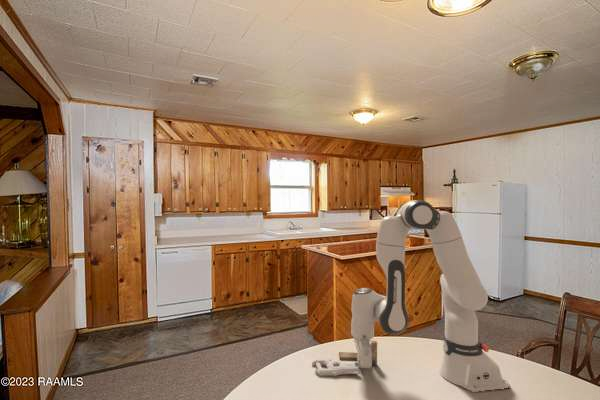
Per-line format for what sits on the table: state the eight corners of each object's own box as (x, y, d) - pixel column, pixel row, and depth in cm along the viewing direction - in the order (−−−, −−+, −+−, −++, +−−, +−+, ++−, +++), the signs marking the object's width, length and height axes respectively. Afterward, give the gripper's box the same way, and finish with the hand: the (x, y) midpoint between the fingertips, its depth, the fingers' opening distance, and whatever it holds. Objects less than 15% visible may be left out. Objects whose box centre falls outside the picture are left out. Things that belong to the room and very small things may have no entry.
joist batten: (371, 355, 124) (371, 353, 124) (373, 360, 120) (373, 358, 120) (338, 354, 125) (338, 352, 125) (339, 359, 121) (339, 357, 121)
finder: (369, 362, 119) (369, 354, 119) (370, 369, 114) (370, 360, 114) (357, 361, 120) (357, 353, 120) (357, 368, 115) (358, 359, 115)
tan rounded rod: (376, 362, 119) (376, 340, 119) (377, 366, 116) (377, 343, 116) (369, 362, 119) (370, 340, 119) (371, 365, 116) (371, 343, 116)
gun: (356, 354, 118) (361, 369, 108) (356, 363, 118) (361, 378, 108) (311, 356, 118) (312, 370, 108) (312, 364, 118) (313, 380, 108)
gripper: (376, 343, 103) (375, 382, 103) (365, 320, 123) (365, 352, 123) (358, 343, 103) (358, 382, 103) (351, 319, 124) (350, 352, 123)
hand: (361, 365), depth 113 cm, fingers closed
